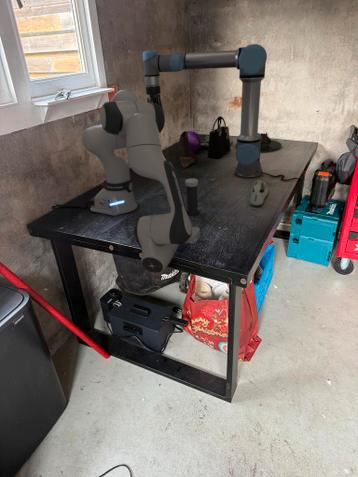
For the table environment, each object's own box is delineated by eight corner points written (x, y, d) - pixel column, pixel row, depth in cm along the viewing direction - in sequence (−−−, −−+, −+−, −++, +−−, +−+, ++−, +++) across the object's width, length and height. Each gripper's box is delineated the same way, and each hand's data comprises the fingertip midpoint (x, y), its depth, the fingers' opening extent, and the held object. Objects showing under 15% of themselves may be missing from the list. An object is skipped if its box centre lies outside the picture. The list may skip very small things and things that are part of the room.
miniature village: (250, 138, 260) (251, 126, 256) (289, 145, 237) (291, 132, 233) (223, 147, 242) (223, 134, 237) (263, 155, 219) (264, 141, 215)
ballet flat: (269, 188, 169) (270, 173, 165) (265, 208, 149) (266, 191, 145) (252, 187, 171) (253, 172, 167) (246, 206, 151) (247, 190, 147)
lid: (187, 181, 145) (187, 178, 144) (199, 182, 144) (199, 178, 143) (183, 186, 141) (183, 182, 140) (196, 187, 139) (195, 183, 138)
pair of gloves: (198, 151, 236) (198, 144, 233) (184, 143, 256) (183, 137, 254) (234, 145, 246) (235, 137, 243) (218, 138, 266) (218, 131, 263)
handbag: (218, 159, 217) (218, 119, 204) (206, 157, 221) (205, 119, 209) (231, 151, 232) (232, 114, 219) (219, 150, 236) (220, 113, 224)
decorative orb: (204, 151, 235) (204, 129, 228) (194, 156, 225) (193, 134, 217) (186, 149, 243) (186, 128, 235) (175, 154, 232) (174, 132, 224)
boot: (197, 157, 223) (197, 126, 213) (191, 168, 203) (190, 135, 193) (185, 157, 225) (183, 126, 215) (178, 168, 205) (176, 135, 195)
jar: (189, 210, 152) (188, 179, 144) (199, 211, 150) (198, 180, 143) (186, 214, 148) (184, 183, 140) (196, 215, 147) (195, 183, 139)
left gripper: (195, 235, 112) (204, 218, 123) (140, 230, 117) (153, 213, 129) (196, 251, 115) (204, 232, 127) (141, 245, 121) (154, 228, 132)
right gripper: (154, 83, 178) (157, 124, 189) (136, 88, 157) (141, 134, 168) (167, 82, 176) (169, 124, 187) (151, 88, 155) (155, 134, 166)
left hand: (178, 223), depth 128 cm, fingers open, 8 cm apart
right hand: (156, 128), depth 177 cm, fingers open, 13 cm apart
